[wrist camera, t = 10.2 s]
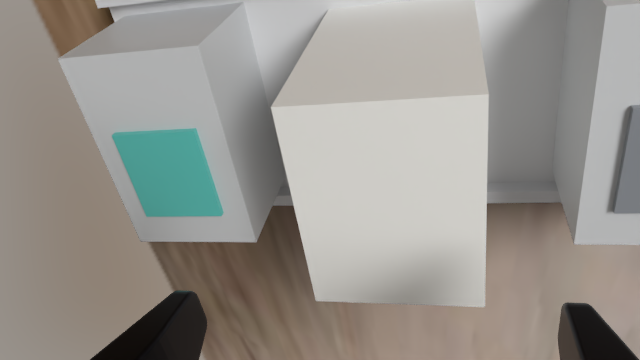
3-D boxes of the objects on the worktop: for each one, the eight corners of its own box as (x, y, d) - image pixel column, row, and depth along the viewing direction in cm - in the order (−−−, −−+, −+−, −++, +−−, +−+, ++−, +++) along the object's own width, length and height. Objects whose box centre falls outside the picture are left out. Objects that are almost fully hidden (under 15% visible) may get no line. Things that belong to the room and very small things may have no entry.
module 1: (243, 2, 17) (195, 48, 14) (285, 176, 21) (254, 246, 18) (124, 15, 18) (53, 61, 15) (184, 179, 22) (137, 245, 19)
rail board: (769, -132, 14) (814, -124, 12) (687, 177, 19) (710, 212, 18) (118, -37, 19) (86, -23, 17) (197, 188, 24) (178, 216, 23)
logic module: (473, -7, 16) (488, 93, 10) (473, 164, 19) (484, 311, 14) (328, 9, 17) (270, 107, 11) (352, 168, 20) (316, 304, 15)
